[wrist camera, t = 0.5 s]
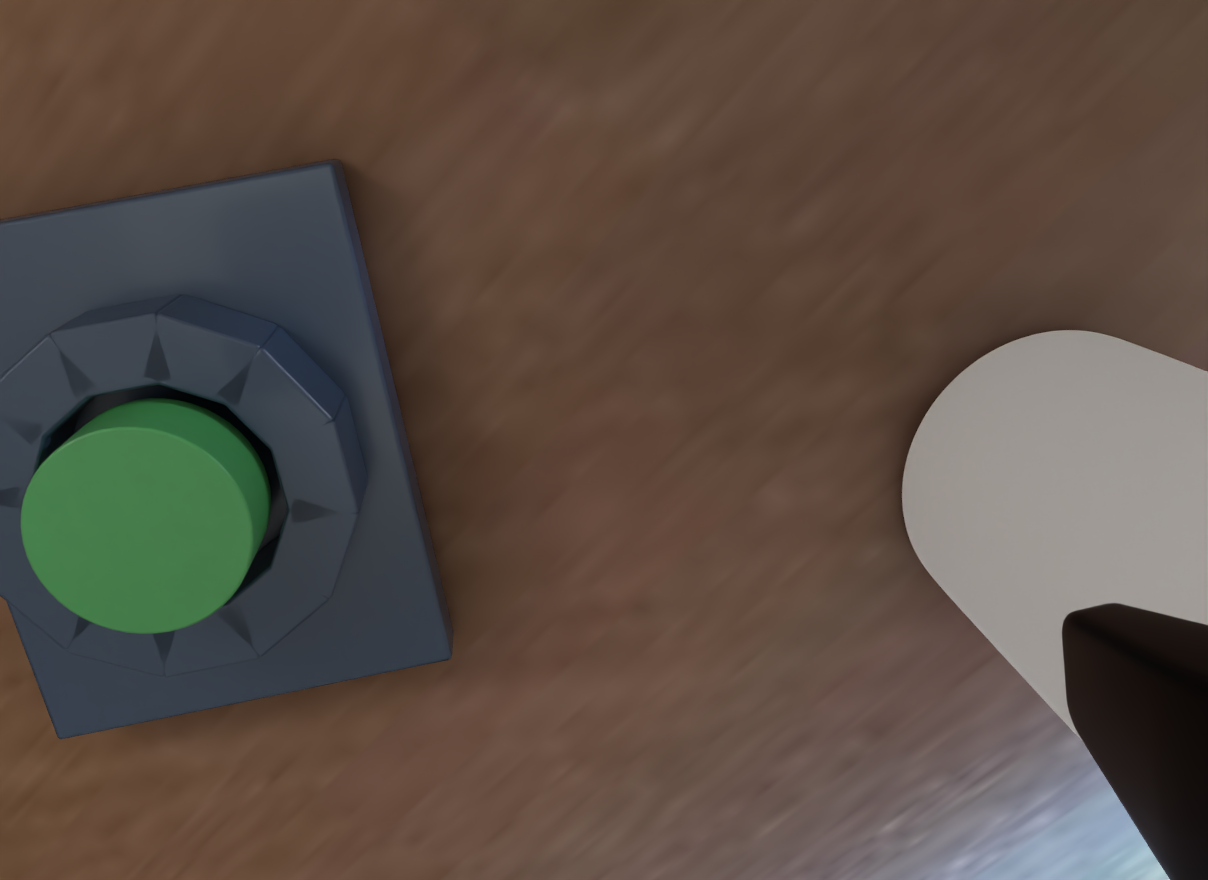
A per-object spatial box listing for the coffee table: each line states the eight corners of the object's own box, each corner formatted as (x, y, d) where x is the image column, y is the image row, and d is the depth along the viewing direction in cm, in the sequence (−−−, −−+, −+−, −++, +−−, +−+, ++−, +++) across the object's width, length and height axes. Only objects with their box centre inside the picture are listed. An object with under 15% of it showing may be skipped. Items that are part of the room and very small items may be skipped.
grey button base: (454, 633, 24) (451, 706, 21) (77, 710, 23) (22, 796, 21) (340, 157, 21) (318, 168, 18) (-96, 236, 20) (-190, 261, 17)
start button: (294, 567, 20) (278, 611, 19) (95, 608, 20) (60, 654, 18) (241, 379, 19) (219, 406, 18) (29, 419, 19) (-14, 451, 17)
